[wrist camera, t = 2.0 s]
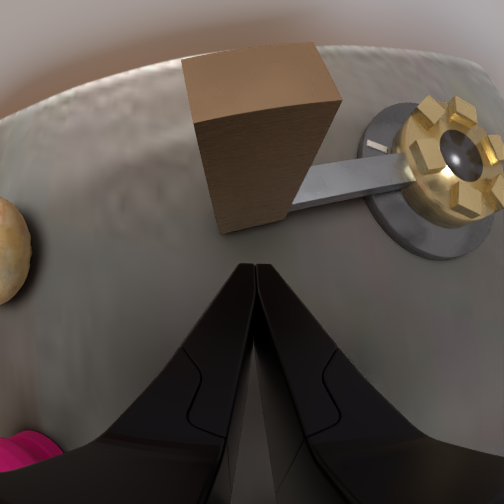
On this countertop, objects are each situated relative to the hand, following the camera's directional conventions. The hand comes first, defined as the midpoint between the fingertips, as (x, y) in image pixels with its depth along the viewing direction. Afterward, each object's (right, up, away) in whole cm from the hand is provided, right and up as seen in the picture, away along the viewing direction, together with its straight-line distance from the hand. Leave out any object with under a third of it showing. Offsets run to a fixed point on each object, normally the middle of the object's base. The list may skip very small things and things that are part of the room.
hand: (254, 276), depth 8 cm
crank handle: (+8, +5, +12) cm, 15 cm away
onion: (-19, 0, +12) cm, 23 cm away
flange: (+14, +6, +14) cm, 21 cm away
